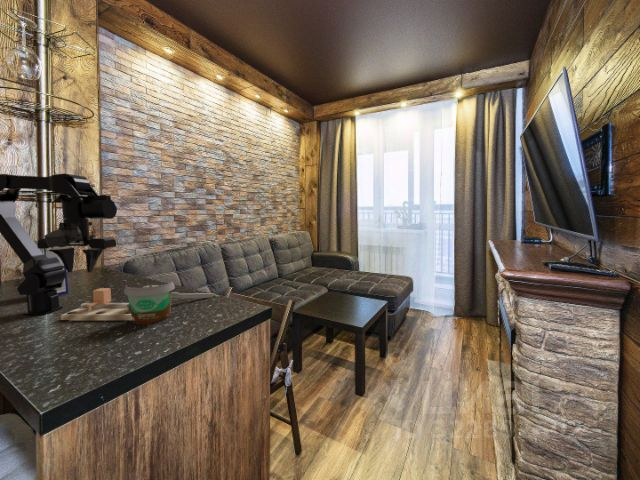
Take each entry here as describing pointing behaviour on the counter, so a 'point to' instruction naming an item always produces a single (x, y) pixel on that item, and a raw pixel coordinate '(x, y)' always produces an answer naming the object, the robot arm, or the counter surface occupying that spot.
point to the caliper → (190, 295)
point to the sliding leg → (100, 297)
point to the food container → (150, 303)
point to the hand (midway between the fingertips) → (80, 272)
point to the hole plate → (100, 312)
